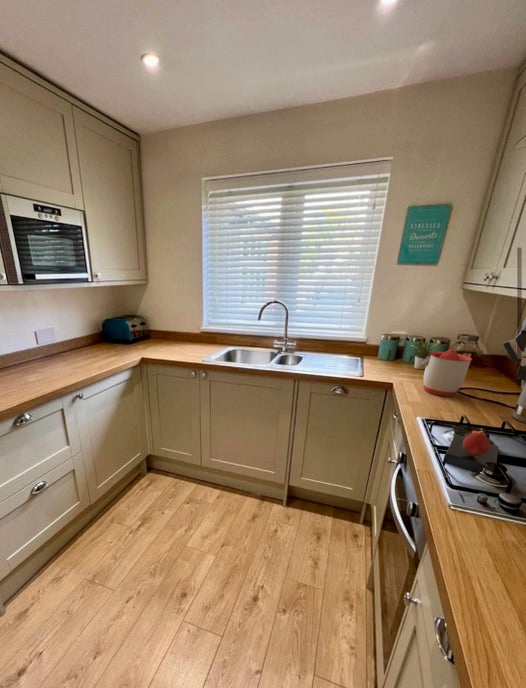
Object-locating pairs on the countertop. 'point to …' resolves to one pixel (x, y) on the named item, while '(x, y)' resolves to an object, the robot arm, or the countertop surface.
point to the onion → (476, 443)
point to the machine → (464, 459)
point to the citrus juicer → (445, 372)
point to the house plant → (423, 354)
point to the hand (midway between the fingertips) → (521, 379)
